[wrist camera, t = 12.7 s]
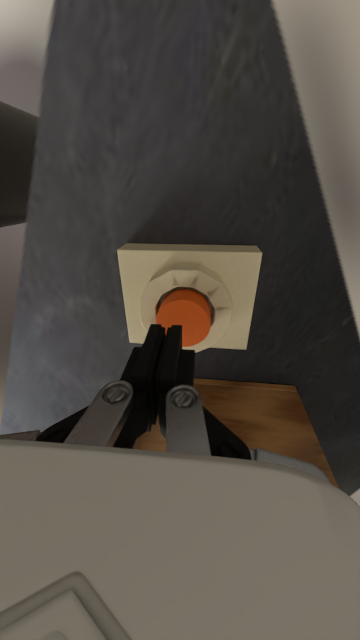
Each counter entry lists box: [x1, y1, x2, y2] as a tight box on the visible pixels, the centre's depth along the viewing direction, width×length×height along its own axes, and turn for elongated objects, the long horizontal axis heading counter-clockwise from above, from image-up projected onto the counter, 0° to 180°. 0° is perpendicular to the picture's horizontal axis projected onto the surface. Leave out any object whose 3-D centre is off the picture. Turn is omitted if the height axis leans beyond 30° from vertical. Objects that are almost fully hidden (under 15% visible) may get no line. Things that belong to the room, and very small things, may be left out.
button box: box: [117, 243, 262, 352], centre depth 18 cm, size 10×8×4 cm
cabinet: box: [137, 378, 339, 489], centre depth 23 cm, size 15×13×10 cm
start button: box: [156, 289, 211, 347], centre depth 16 cm, size 4×4×2 cm
